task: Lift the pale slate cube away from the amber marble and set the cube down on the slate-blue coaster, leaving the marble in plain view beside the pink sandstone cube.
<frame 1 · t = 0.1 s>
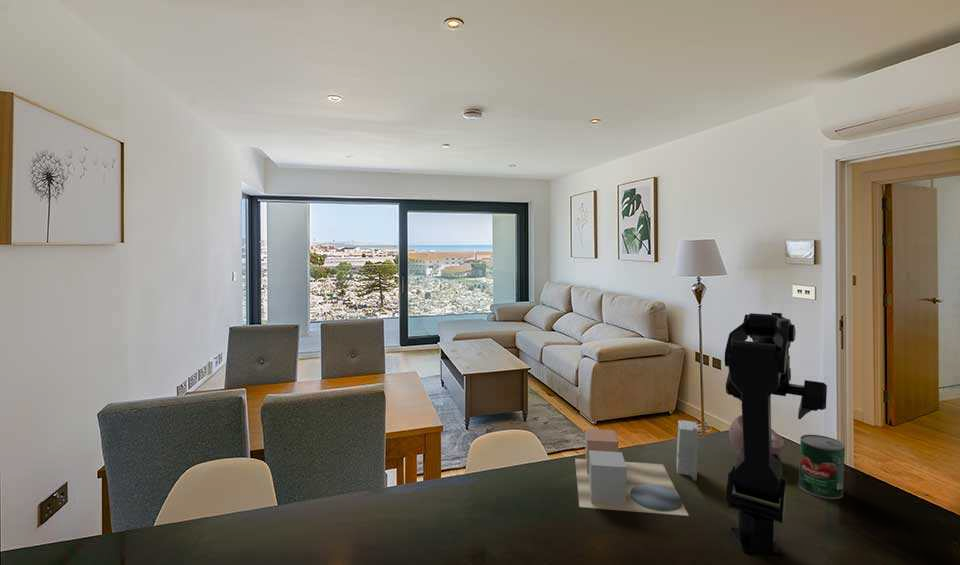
hand: (775, 413, 105), 15 cm above the kitchen counter, tool tilted 35°, fingers open, 9 cm apart
amber marble: (606, 494, 96), point 1 cm above the kitchen counter, touching oak board
pink sandstone cube: (601, 467, 108), point 1 cm above the kitchen counter, touching oak board
skincare box: (686, 475, 107), on the kitchen counter
oak board: (624, 488, 101), on the kitchen counter
pale slate cube: (606, 494, 96), point 1 cm above the kitchen counter, touching oak board
mortar and pestle: (755, 461, 114), on the kitchen counter
canned tomato: (820, 490, 100), on the kitchen counter
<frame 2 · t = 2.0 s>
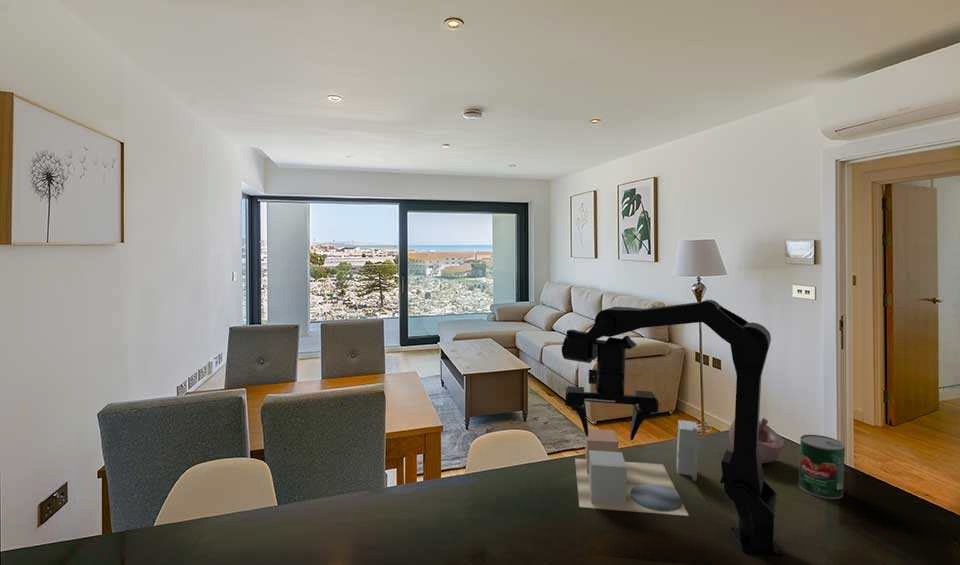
hand: (608, 437, 97), 13 cm above the kitchen counter, tool pointing down, fingers open, 9 cm apart
nothing on the kitchen counter moved.
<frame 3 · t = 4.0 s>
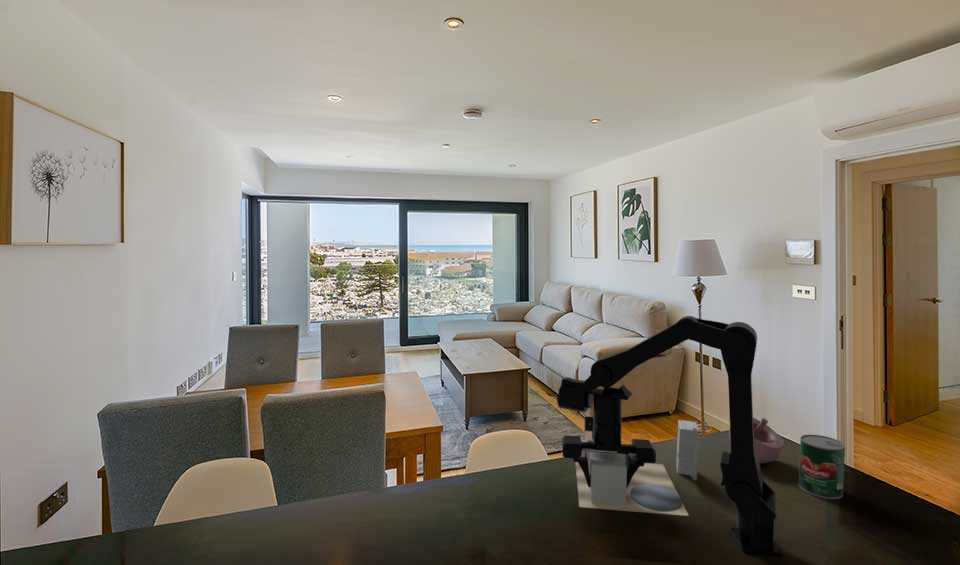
hand: (606, 487, 96), 3 cm above the kitchen counter, tool pointing down, fingers closed on pale slate cube, 7 cm apart
pale slate cube: (606, 494, 96), point 1 cm above the kitchen counter, touching gripper, oak board
everything else where it was.
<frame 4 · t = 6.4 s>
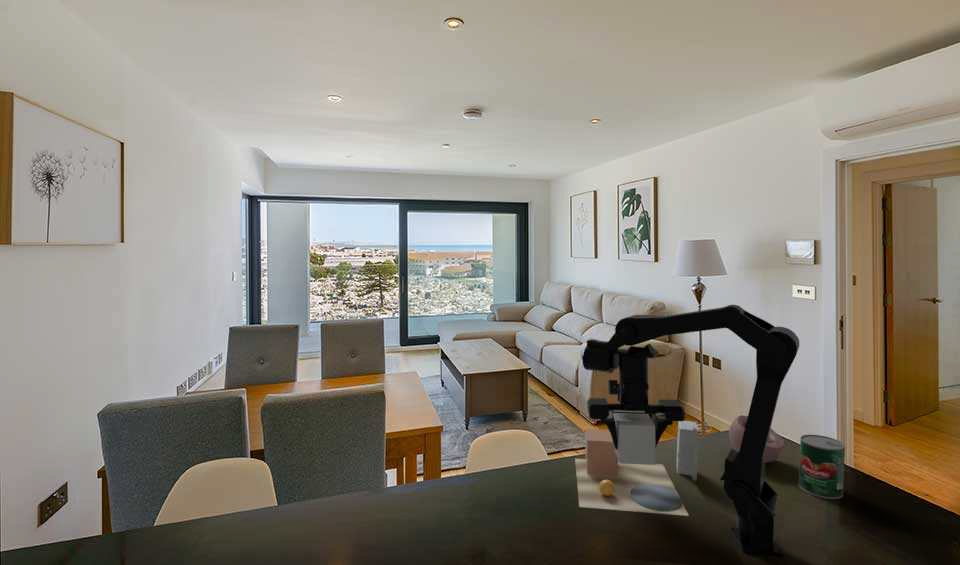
hand: (634, 449, 95), 12 cm above the kitchen counter, tool pointing down, fingers closed on pale slate cube, 7 cm apart
pale slate cube: (634, 456, 95), point 10 cm above the kitchen counter, touching gripper
everything else where it was.
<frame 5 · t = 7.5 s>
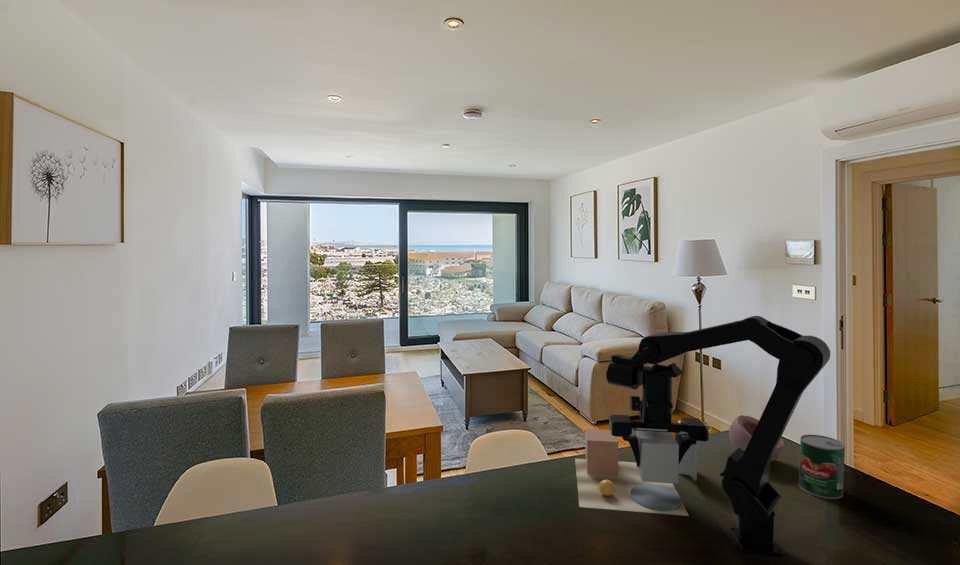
hand: (656, 467, 94), 8 cm above the kitchen counter, tool pointing down, fingers closed on pale slate cube, 7 cm apart
pale slate cube: (656, 474, 95), point 6 cm above the kitchen counter, touching gripper
everything else where it was.
when the fingers open (5 cm above the kitchen counter, at t = 8.6 s): pale slate cube drops 1 cm, resting on oak board.
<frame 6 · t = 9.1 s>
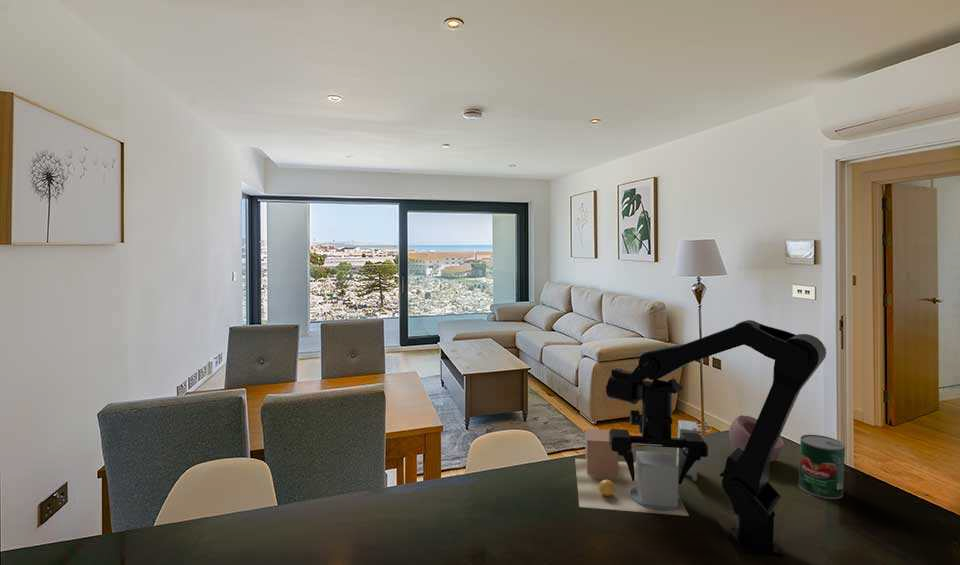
hand: (655, 481, 95), 5 cm above the kitchen counter, tool pointing down, fingers open, 9 cm apart
pale slate cube: (655, 496, 95), point 1 cm above the kitchen counter, touching oak board
everything else where it was.
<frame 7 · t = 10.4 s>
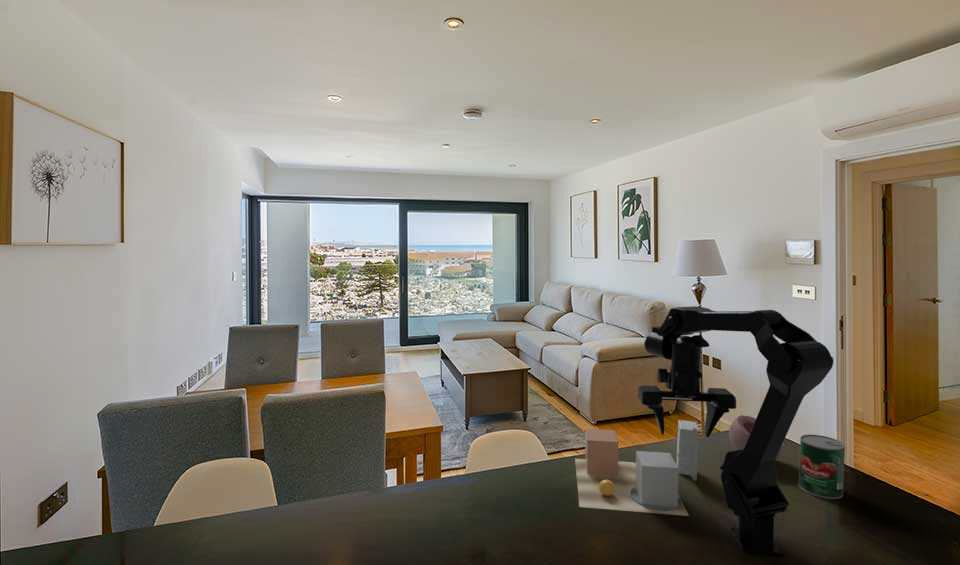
hand: (684, 435, 98), 13 cm above the kitchen counter, tool pointing down, fingers open, 9 cm apart
nothing on the kitchen counter moved.
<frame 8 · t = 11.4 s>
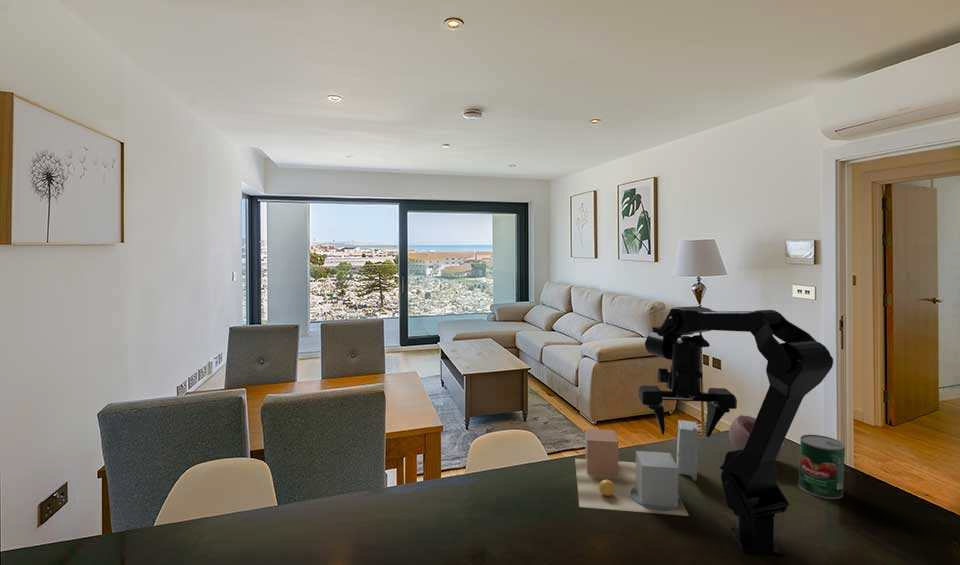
hand: (684, 435, 98), 13 cm above the kitchen counter, tool pointing down, fingers open, 9 cm apart
nothing on the kitchen counter moved.
at the end: pale slate cube 0.1 cm from the target spot, point 1.5 cm above the kitchen counter; pale slate cube tilted 0°; the gripper is holding nothing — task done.
